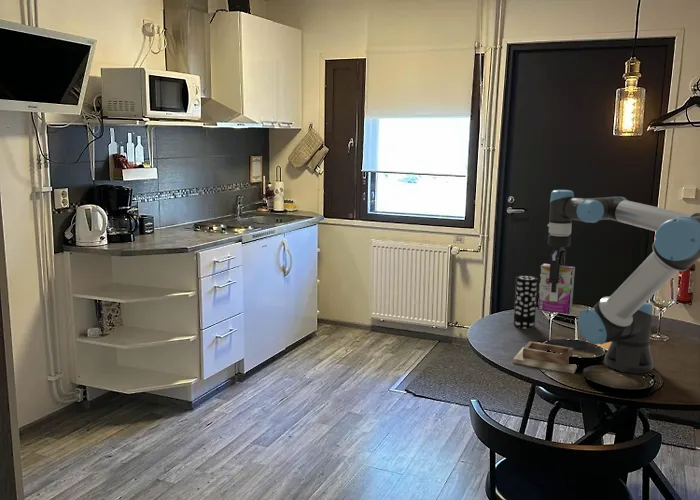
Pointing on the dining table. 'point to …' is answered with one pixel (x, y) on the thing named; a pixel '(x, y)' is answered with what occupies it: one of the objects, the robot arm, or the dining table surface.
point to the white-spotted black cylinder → (525, 302)
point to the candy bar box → (563, 292)
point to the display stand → (546, 357)
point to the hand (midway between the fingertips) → (555, 299)
